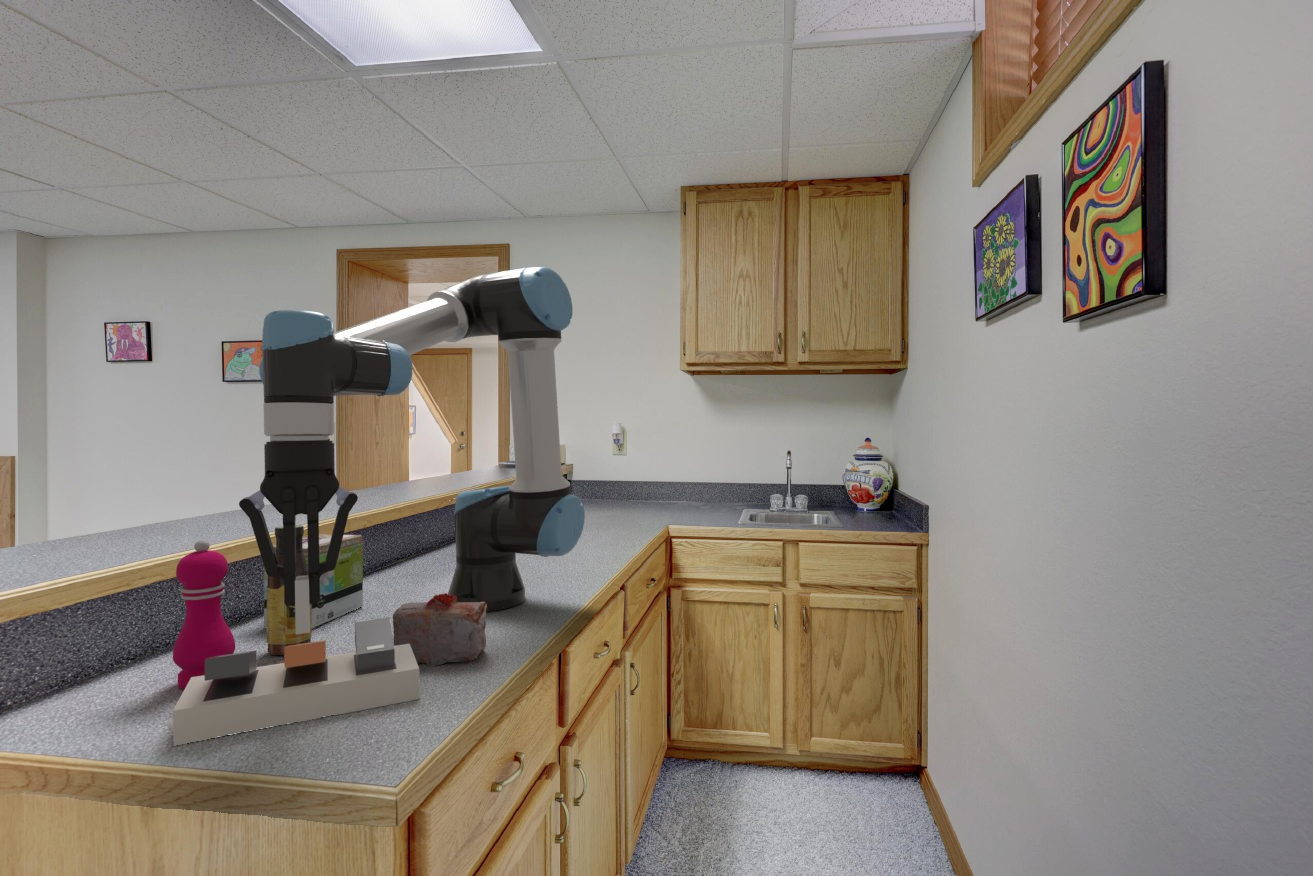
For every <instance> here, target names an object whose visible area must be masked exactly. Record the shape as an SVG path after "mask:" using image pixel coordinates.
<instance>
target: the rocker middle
mask: <svg viewBox="0 0 1313 876" xmlns="http://www.w3.org/2000/svg"><path fill="white" fill-rule="evenodd" d="M326 644H327V643H326V640H318V641H311V642H310V643H304V644H297V645H290V646H287V647H285V648H284V655H283V656H284V657H283V659H284V660H283V661H284V662H283V663H284V668H289V667H295V666H302V665H308V664H314V663H321V662H325V661H326V656H327V651H326V650H327V649H326Z"/></svg>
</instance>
